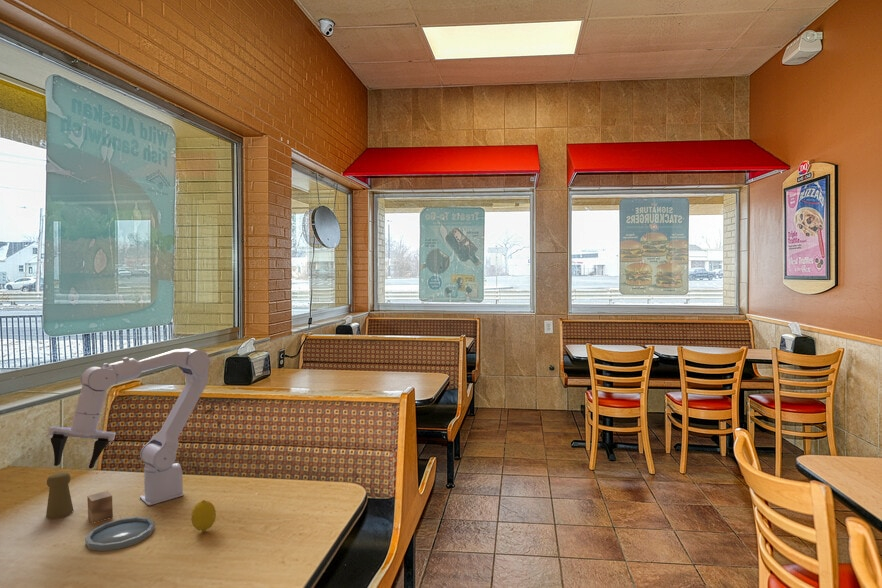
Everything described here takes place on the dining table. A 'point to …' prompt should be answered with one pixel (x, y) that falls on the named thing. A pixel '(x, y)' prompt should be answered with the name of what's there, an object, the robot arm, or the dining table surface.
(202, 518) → the lemon
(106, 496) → the block
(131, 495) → the dining table surface
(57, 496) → the cork
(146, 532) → the plate
